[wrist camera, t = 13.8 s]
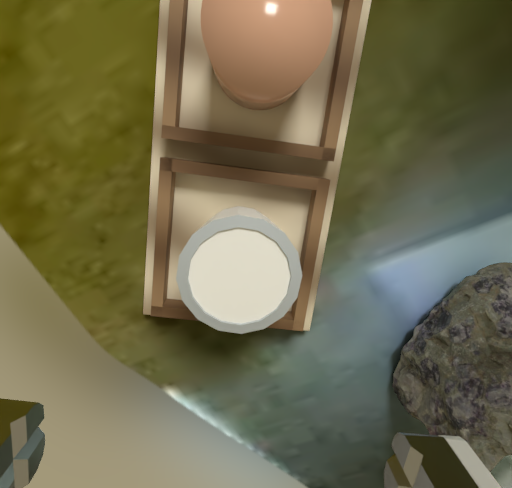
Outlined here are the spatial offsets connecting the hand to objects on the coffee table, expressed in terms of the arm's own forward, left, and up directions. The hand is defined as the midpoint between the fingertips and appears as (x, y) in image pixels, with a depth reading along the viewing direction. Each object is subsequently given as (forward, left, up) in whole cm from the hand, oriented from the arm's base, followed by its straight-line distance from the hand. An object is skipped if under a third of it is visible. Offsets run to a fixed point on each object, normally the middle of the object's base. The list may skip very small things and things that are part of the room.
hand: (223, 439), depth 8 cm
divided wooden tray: (-6, 0, -19) cm, 20 cm away
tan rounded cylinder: (-12, 0, -18) cm, 22 cm away
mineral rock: (+7, +19, -20) cm, 28 cm away
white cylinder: (0, 0, -18) cm, 18 cm away
